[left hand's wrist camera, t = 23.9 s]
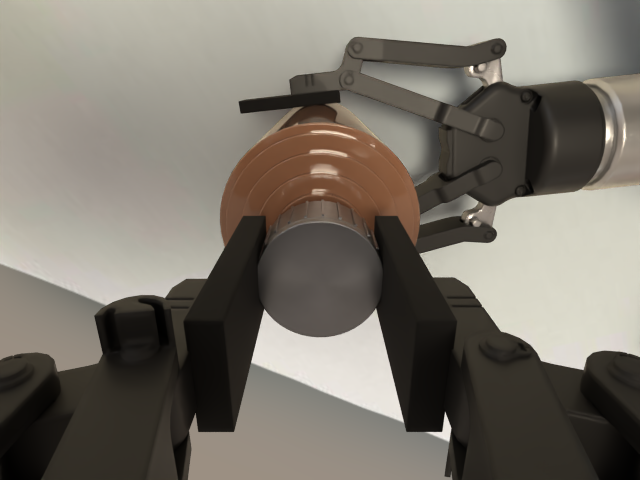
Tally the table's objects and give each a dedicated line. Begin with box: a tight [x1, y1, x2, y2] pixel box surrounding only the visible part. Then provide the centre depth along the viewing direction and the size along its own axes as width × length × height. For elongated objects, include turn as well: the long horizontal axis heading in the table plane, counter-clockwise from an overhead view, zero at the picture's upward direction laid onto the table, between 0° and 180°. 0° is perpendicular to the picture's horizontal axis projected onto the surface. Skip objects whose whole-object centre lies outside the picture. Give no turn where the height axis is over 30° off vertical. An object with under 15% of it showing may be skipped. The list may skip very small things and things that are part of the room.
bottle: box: [220, 103, 420, 247], centre depth 24 cm, size 8×8×24 cm
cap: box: [257, 200, 383, 337], centre depth 13 cm, size 4×4×2 cm
